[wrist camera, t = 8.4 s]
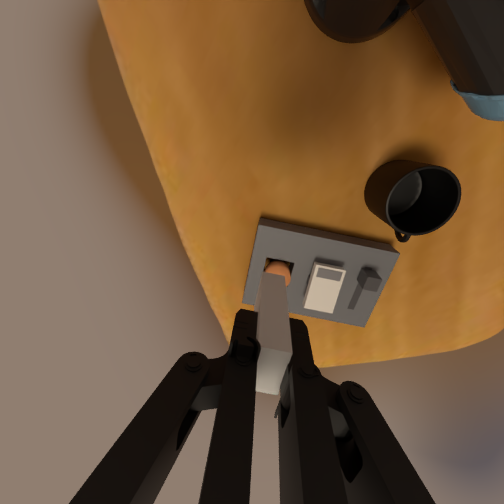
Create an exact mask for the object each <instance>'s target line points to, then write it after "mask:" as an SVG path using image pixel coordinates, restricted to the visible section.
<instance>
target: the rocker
mask: <svg viewBox="0 0 504 504" xmlns="http://www.w3.org/2000/svg"><path fill="white" fill-rule="evenodd" d="M345 273H346V270H345V269H344V268H343V267H338V266H333V265H328V264H323V263H319V262H314V265H313V268H312V272H311V275H310V279H309V283H308V286H307V290H306V293H305V297H304V300H303V306H304V308H307V309H312V310H317V311H322V312H327V313H333V310H334V307H335V304H336V301H337V298H338V294H339V291H340V288H341V285H342V282H343V279H344V276H345Z"/></svg>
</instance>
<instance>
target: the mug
mask: <svg viewBox="0 0 504 504" xmlns="http://www.w3.org/2000/svg"><path fill="white" fill-rule="evenodd" d="M460 199H461V186H460V183H459V180H458V178H457V177H456V176H455V175H454V174H453V173H452V172H451V171H450V170H448V169H446V168H444V167H441V166H436V165H430V164H424V163H418V162H412V161H406V160H396V161H392V162H389V163H386V164H384V165H383V166H381V167H380V168H378V169H377V170H376V171H375V172H374V173H373V174H372V176H371V177H370V179H369V180H368V182H367V185H366V188H365V202H366V205H367V207H368V209H369V210H370V211H371V212H372V213H373V214H375V215H376V216H377V217H379V218H380V219H381V220H383V221H384V222H385V223H387V224H388V225H389V226H391V227H392V228H393V229H394V231H395V235H396V238H397V239H398V241H400V242H407V241H408V240H409V238H410V236H411V235H423V234H427V233H430V232H432V231H435V230H436V229H438V228H440V227H441V226H443V225H444V224H445V223H446V222H447V221H449V219H450V218H451V217H452V216H453V215H454V213H455V212H456V210H457V208H458V206H459V203H460ZM401 233H402V234H405V235H404V236H403V237H402V235H401Z"/></svg>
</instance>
